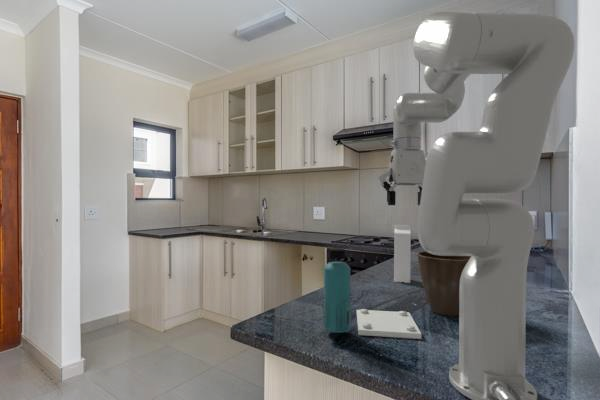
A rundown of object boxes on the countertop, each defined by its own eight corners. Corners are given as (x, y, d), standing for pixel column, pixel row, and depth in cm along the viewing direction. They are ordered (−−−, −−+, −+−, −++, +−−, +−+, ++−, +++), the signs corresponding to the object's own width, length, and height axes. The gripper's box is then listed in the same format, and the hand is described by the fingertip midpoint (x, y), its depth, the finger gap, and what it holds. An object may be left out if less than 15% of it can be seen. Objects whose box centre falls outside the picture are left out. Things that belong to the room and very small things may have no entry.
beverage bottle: (350, 341, 71) (351, 251, 71) (321, 338, 73) (321, 250, 73) (351, 329, 78) (352, 246, 78) (324, 327, 79) (325, 246, 79)
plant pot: (424, 299, 101) (424, 249, 101) (478, 309, 93) (478, 254, 93) (410, 313, 89) (411, 255, 89) (471, 325, 80) (471, 262, 80)
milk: (394, 278, 129) (394, 223, 129) (409, 279, 127) (410, 224, 127) (394, 282, 123) (394, 224, 123) (410, 283, 121) (410, 225, 122)
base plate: (421, 338, 72) (421, 331, 72) (358, 335, 74) (358, 327, 74) (409, 316, 86) (409, 310, 86) (356, 313, 88) (356, 307, 88)
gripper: (385, 142, 87) (385, 205, 87) (441, 145, 91) (441, 205, 91) (373, 147, 94) (373, 205, 94) (425, 149, 98) (425, 205, 98)
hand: (406, 205), depth 92 cm, fingers open, 9 cm apart
